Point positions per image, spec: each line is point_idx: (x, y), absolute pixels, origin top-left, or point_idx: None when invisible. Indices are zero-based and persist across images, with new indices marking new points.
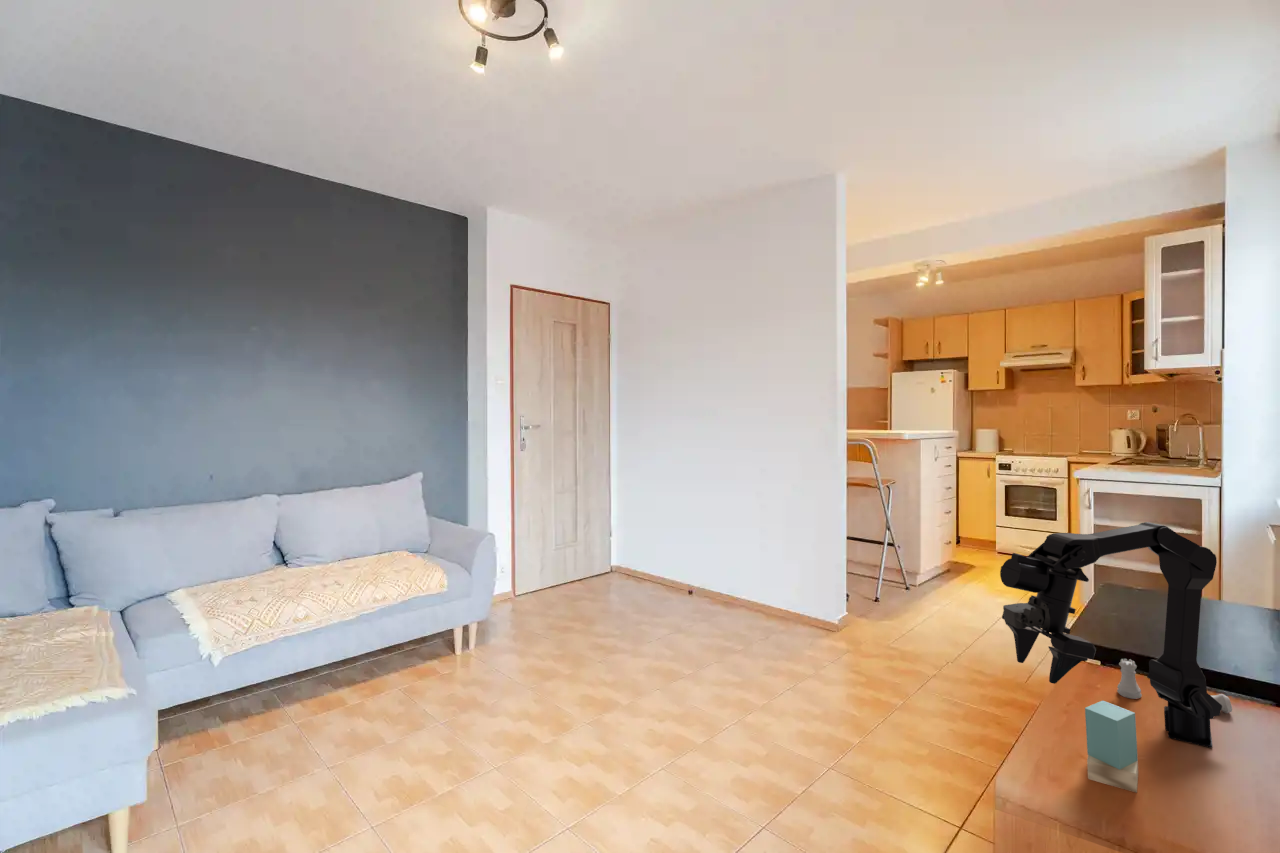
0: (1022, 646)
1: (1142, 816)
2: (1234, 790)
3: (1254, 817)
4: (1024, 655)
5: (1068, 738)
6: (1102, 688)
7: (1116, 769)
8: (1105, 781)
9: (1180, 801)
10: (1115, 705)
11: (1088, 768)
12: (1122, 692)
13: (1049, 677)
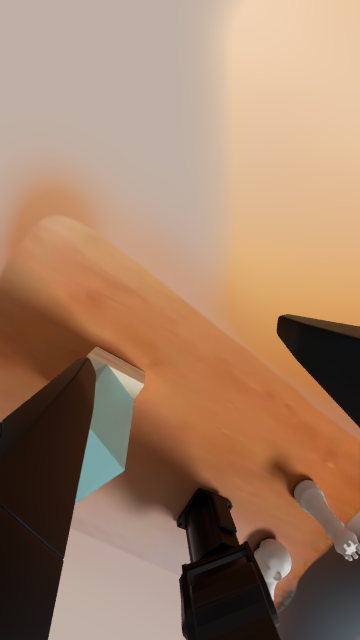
0: (348, 359)
1: (10, 373)
2: (84, 502)
3: None
4: (300, 349)
5: (200, 367)
6: (323, 466)
7: None
8: None
9: None
10: (96, 488)
11: (91, 351)
12: (306, 486)
13: (80, 365)
